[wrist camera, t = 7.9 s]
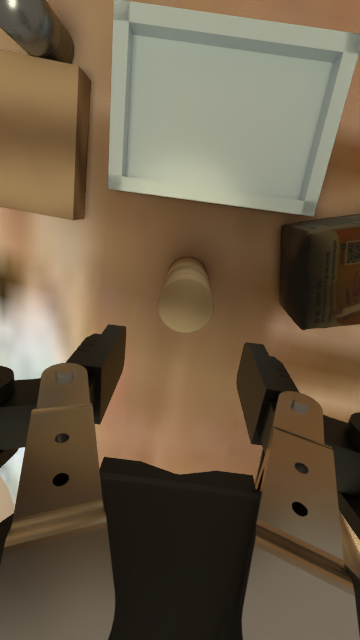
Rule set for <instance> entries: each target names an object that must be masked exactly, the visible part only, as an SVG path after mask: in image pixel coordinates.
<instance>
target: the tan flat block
mask: <svg viewBox="0 0 360 640" xmlns="http://www.w3.org/2000/svg"><path fill="white" fill-rule="evenodd" d="M90 91H91V81H90V79H89V78H88V77H87V75H86V74H85V73H84V72H83V70H82V69H81V68H80V67H79V65H74V64H69V63H64V62H59V61H54V60H49V59H44V58H39V57H34V56H29V55H24V54H19V53H14V52H9V51H4V50H0V207H4V208H10V209H15V210H21V211H26V212H32V213H37V214H42V215H48V216H53V217H59V218H64V219H70V220H78V219H84V210H85V190H86V170H87V151H88V131H89V111H90Z"/></svg>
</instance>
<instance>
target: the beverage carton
mask: <svg viewBox="0 0 360 640" xmlns="http://www.w3.org/2000/svg"><path fill="white" fill-rule="evenodd" d="M280 305H281V306H282V307H283V309H284V310H285V311H286V312H287V314H288V315H289V316H290V317H291V318H292V320H293V321H294V322H295V323H296V324H297V325H298V326H299V327H300V329H301V330H306V329H311V328H328V327H336V326H346V325H355V324H360V214H356V215H349V216H341V217H334V218H326V219H319V220H313V221H307V222H300V223H295V224H290V225H283V226H282V238H281V285H280Z"/></svg>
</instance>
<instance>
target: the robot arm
mask: <svg viewBox="0 0 360 640" xmlns="http://www.w3.org/2000/svg"><path fill="white" fill-rule="evenodd" d="M125 344H126V327H125V326H117V325H108V326H107V327H106V328H105V330H104V331H103V333H102V334H93V335H91V336H89V337H87V338H85V340H84V341H83V342H82V343H81V345H80V346H79V347H78V348H77V350H76V351H75V352H74V353H73V354H72V356H71V357H70V358H69V359H68V360H67V362H66V363H61V364H56V365H53V366H51V367H49V368H47V369H46V370H44V371H43V373H42V375H41V378H39V379H29V380H14V373H13V371H12V370H11V369H9V368H7V367H3V366H0V468H1V467H2V466H3V465H4V464H5V463H6V462H7V461H8V460H9V459H10V458H11V457H12V456H13V455H14V454H15V453H16V452H17V451H18V449H19V448H21V447H25V452H24V458H23V464H22V470H21V475H20V481H19V487H18V493H17V498H16V504H15V510H14V513H13V514H12V515H11V516H9V517H8V518H6V519H5V520H3V521H2V522H1V523H0V640H360V553H359V550H358V548H357V546H356V544H355V542H354V540H353V538H352V536H351V534H350V532H349V530H348V528H347V526H346V524H345V522H344V520H343V518H342V516H341V514H340V512H341V513H342V515H343V516H344V518H345V519H346V521H347V522H348V524H349V525H350V527H351V528H352V529H353V531H354V532H355V534H356V535H357V537H358V538H359V540H360V413H354V414H352V415H351V417H350V419H349V422H348V423H346V422H343V421H340V420H337V419H334V418H330V417H328V416H325V415H323V410H322V408H321V406H320V405H319V403H318V402H316V401H315V400H314V399H312V398H311V397H309V396H307V395H305V394H302V393H299V391H298V389H297V387H296V386H295V384H294V382H293V381H292V379H291V378H290V375H289V374H288V372H287V370H286V369H285V367H284V365H283V364H282V363H281V362H280V361H279V360H277V359H276V358H275V357H271V356H269V354H268V352H267V351H266V349H265V347H264V345H263V344H255V343H247V342H246V343H245V344H244V347H243V351H242V356H241V360H240V365H239V369H238V374H237V390H238V394H239V398H240V402H241V406H242V410H243V414H244V418H245V422H246V426H247V430H248V434H249V438H250V442H251V444H256V445H262V447H263V450H262V454H261V457H260V461H259V466H258V470H257V475H256V479H255V483H254V479H253V475H245V474H237V473H229V472H221V471H210V472H201V473H192V474H182V475H179V474H174V473H171V472H169V471H166V470H163V469H160V468H157V467H155V466H152V465H149V464H146V463H143V462H141V461H133V460H125V459H117V458H109V457H104V458H103V461H102V464H101V467H100V469H99V461H98V452H97V442H96V433H95V424H100V423H101V421H102V419H103V416H104V414H105V412H106V409H107V407H108V404H109V402H110V400H111V397H112V395H113V393H114V390H115V388H116V385H117V383H118V381H119V378H120V376H121V374H122V371H123V366H124V359H125ZM339 511H340V512H339Z"/></svg>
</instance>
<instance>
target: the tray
mask: <svg viewBox="0 0 360 640" xmlns="http://www.w3.org/2000/svg"><path fill="white" fill-rule="evenodd" d="M359 51H360V34H357V33H350V32H343V31H336V30H329V29H322V28H315V27H308V26H301V25H294V24H287V23H280V22H273V21H266V20H259V19H251V18H244V17H237V16H230V15H223V14H216V13H209V12H202V11H195V10H188V9H181V8H174V7H167V6H160V5H153V4H146V3H139V2H132V1H125V0H114V16H113V48H112V79H111V110H110V142H109V173H108V189H112V190H116V191H123V192H131V193H138V194H146V195H153V196H160V197H168V198H175V199H183V200H190V201H197V202H205V203H212V204H220V205H227V206H235V207H242V208H249V209H257V210H264V211H272V212H279V213H286V214H294V215H301V216H314V213H315V210H316V206H317V203H318V199H319V195H320V192H321V188H322V184H323V181H324V177H325V174H326V170H327V166H328V163H329V159H330V156H331V152H332V148H333V145H334V141H335V137H336V134H337V130H338V127H339V123H340V119H341V116H342V112H343V108H344V105H345V101H346V98H347V94H348V90H349V87H350V83H351V80H352V76H353V72H354V69H355V65H356V61H357V58H358V54H359Z"/></svg>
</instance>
